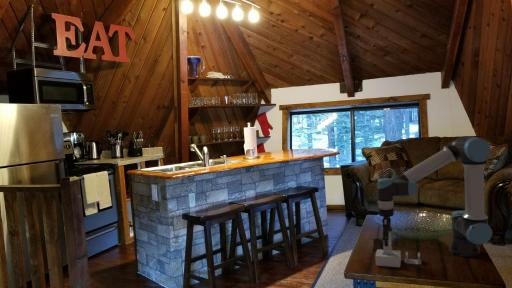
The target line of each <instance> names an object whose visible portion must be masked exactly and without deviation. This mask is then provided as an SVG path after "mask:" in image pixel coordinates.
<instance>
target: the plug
mask: <svg viewBox="0 0 512 288" xmlns="http://www.w3.org/2000/svg"><path fill="white" fill-rule="evenodd" d="M389 250H390V252H384V255H392V250H393V246H392V242H391V243H389ZM383 251H384V246H383Z"/></svg>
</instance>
